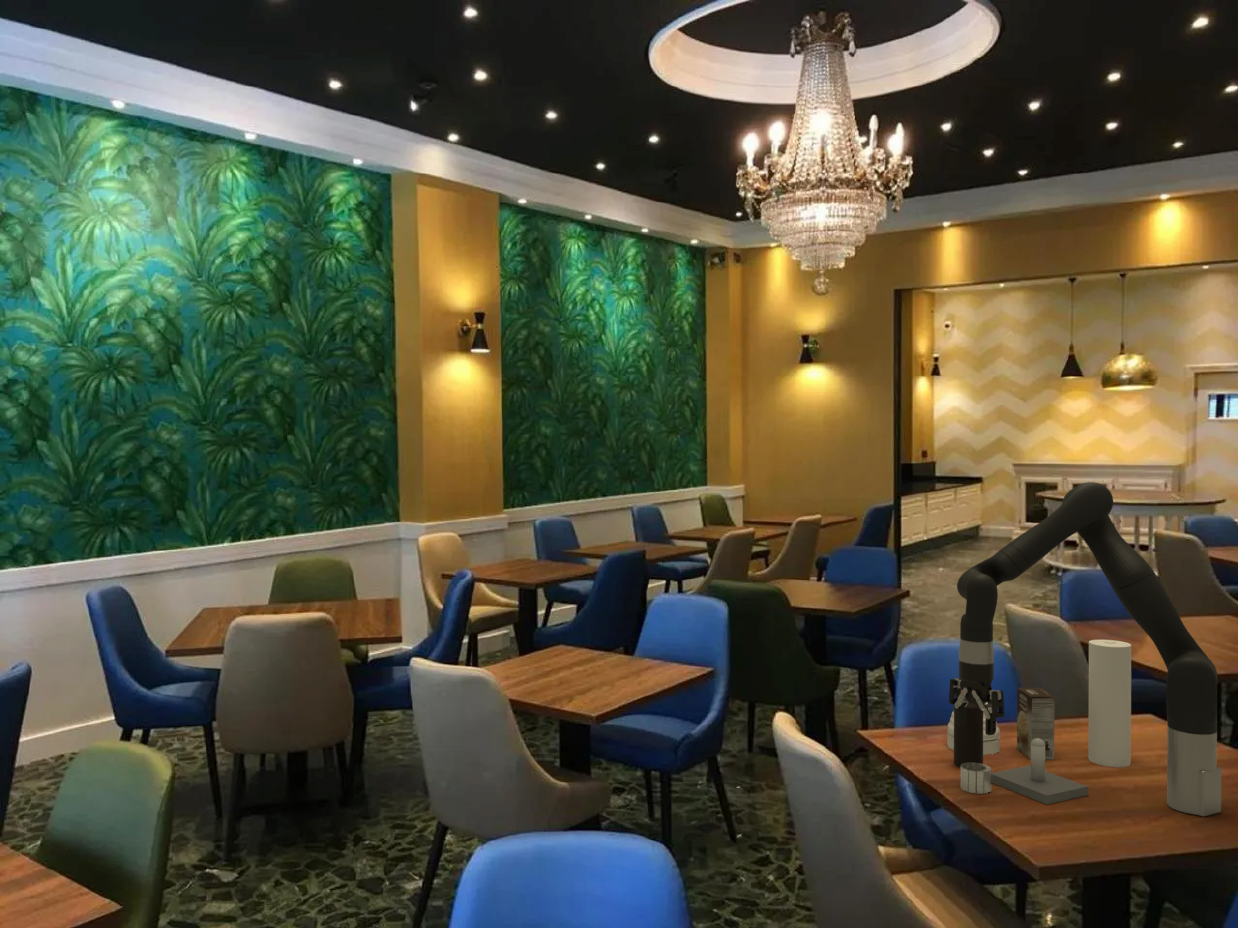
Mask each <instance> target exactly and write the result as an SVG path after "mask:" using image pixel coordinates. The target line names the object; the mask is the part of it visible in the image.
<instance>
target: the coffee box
mask: <svg viewBox="0 0 1238 928" xmlns="http://www.w3.org/2000/svg"><path fill="white" fill-rule="evenodd" d="M1016 689H1017V691H1016V699H1017V701H1016V704H1017V705H1016V749H1017V750H1019V752H1021V753H1022V754H1023V755H1025V756H1026V757H1027V758H1028V759H1029V760H1031V742H1032V740H1033V739H1035V738H1039V739H1042V740H1043V741H1044V743H1045V760H1054V759H1055V709H1056V707H1055V704H1056V703H1055V702H1056V701H1055V699H1056V696H1054V695H1053V694H1051V693H1050V692H1048V691H1047V690H1046V689H1043V688H1042V687H1017V688H1016Z"/></svg>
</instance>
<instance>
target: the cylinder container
mask: <svg viewBox="0 0 1238 928" xmlns="http://www.w3.org/2000/svg"><path fill="white" fill-rule="evenodd" d="M1087 727H1088V736H1087V737H1088V738H1087V739H1088V743H1087V744H1088V745H1087V746H1088V752H1087V753H1088V755H1087V757H1088V760H1089V762H1092V763H1094V764H1095V765H1100V766H1103V767H1108V768H1109V767H1110V768H1127V767H1130V766H1131V762H1132V761H1131V757H1132V756H1131V755H1132V751H1131V748H1132V746H1131V745H1132V743H1131V742H1132V740H1131V739H1132V738H1131V737H1132V644H1131V643H1129V642H1125V641H1122V640H1116V639H1115V640H1113V639H1091V640H1089V641H1088V726H1087Z"/></svg>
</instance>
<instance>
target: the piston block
mask: <svg viewBox="0 0 1238 928" xmlns="http://www.w3.org/2000/svg"><path fill="white" fill-rule="evenodd" d="M992 782H993V783H992ZM991 783H992V784H994V783H995V784H994V785H997V786H999V785H1000V787H1002V786H1003V787H1002V788H1005V789H1006V790H1010V791H1012V792H1015V793H1017V794H1019V795H1022V796H1025V797H1027V796H1028V797H1027V798H1029V797H1030V798H1029V799H1033V800H1035V801H1037V802H1039V803H1043V804H1045V805H1050V804H1055V803H1060V802H1064V801H1069V800H1074V799H1078V798H1082V797H1086V796H1089V786H1088V785H1085V784H1082V783H1081V782H1077V781H1074V780H1071V779H1069V778H1066V777H1064V776H1061V775H1057V774H1054V773H1051V772H1050V771H1047V770H1046V759H1045V743H1044V741H1043V740H1042V739H1039V738H1035V739H1033V740H1032V742H1031V759H1030V764H1029V765H1024V766H1021V767H1014V768H1010V769H1005V770H1000V771H995V772H991Z"/></svg>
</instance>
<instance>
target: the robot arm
mask: <svg viewBox="0 0 1238 928" xmlns="http://www.w3.org/2000/svg"><path fill="white" fill-rule="evenodd" d="M1113 506H1114V497H1113V495H1112V492H1111V490H1109V488H1108V487H1106V486H1105V485H1103V484H1102V483H1099V482H1094V481H1092V482H1090V481H1088V482H1083V483H1079V484H1078V485H1076V486H1075V487H1073V488H1072V489H1070V490H1068V491H1067V492H1066V493H1065V495H1064V497H1063V499H1062V502H1061V505H1059V507H1058V508H1056V509H1055V510H1054V511H1053V512H1052V513H1051V514H1049V515H1048V516H1046V517H1045V518H1044V519H1042V520H1041V521H1040V522H1038V523H1037V524H1035V525H1034V526H1033V527H1031V528H1030V529H1029V528H1028V529H1027V530H1026V531H1025V532H1023V533H1021V534H1020V535H1018V536H1017V537H1016V538H1014V539H1013V540H1011V541H1010V542H1009V543H1007V544H1006V545H1005V546H1003V547H1002V548H1001V549H999V550H998V551H997V552H996V553H994V554H993V555H992V556H990V557H989V558H986V559H985V560H983V561H980V562H979V563H977V564H975V565H974V566H971V567H970V568H968V569H967V570H966V571H965V572H963V573H962V574H961V575H960V576H959V578H958V580H957V584H956V589H957V592H958V594H959V595H960V596H961V597H962V598H963V599H965V600H966V602H965V603H966V606H965V612H964V614H963V615H961V618H960V624H959V625H960V626H959V627H960V632H959V634H960V636H959V638H960V639H959V646H958V677H956V678H951V679H950V680H949V689H948V690H949V694H948V703H949V704H950V705H953V707H954V706H955V708H956V721H957V724H958V725H965V724H966V709H965V707H966V706H967V704H968V703H974V704H976V705H979V707H980V709H981V710H983V712H984V714H985V716H986V724H985V733H986V735H994V734H995V732H996V722H997V719H998V718H1004V717H1005V700H1004V699H1005V697H1004V691H1003V690H1001V689H999V690H998V689H997V690H996V689H993V688H992V683H993V681H994V678H995V672H994V671H995V669H994V668H995V666H994V665H995V664H994V663H995V661H994V660H995V648H994V640H993V639H994V624H993V623H994V619H995V615H996V609H997V606H998V605H997V604H998V595H999V591H998V586H999V585H1000V584H1002V583H1004V582H1011V581H1013V580H1015V579H1017V578H1018V577H1020V576H1021V575H1022V574H1024V573H1025V572H1027V571H1028V570H1029V569H1030V568H1032V567H1033V566H1034V565H1036V563H1038V562H1039V561H1040V560H1041V559H1043V558H1044V557H1045V556H1046V555H1048V554H1049V553H1050V552H1051V551H1052V550H1054V549H1055V548H1056V547H1057V546H1059V545H1060V544H1061V543H1063V542H1064V541H1065V540H1067V539H1068V538H1069V537H1071V536H1073V535H1074V534H1076V533H1078V535H1079V537H1081V539H1082V540H1083V541H1084V543H1085V544H1086V545H1087V546H1088V548H1089V550H1090V551H1091V553H1092V554H1093V557H1094V558H1095V560H1096V563H1097V564H1098V565H1099V568H1100V569H1101V571H1102V573H1103V574H1104V576H1105V578H1106V579H1107V581H1108V583H1109V585H1110V586H1111V588H1112V590H1113V591H1114V594H1116V596H1117V598H1118V600H1119V602H1120V603H1121V604H1122V606H1123V607H1124V609H1125V610H1126V612H1127V613H1128V615H1129V616H1130V617H1131V618H1132V619H1133V620H1134V621H1135V623H1137V625H1138V626H1139V627H1140V628H1141V629H1142V630H1143V631H1144V632H1145V634H1146V635H1148V637H1149V638H1150V640H1151V641H1152V642H1153V644H1154V645H1155V647H1156V649H1157V651H1158V653H1159V655H1160V657H1161V659H1162V661H1163V663H1164V665H1165V666H1166V667H1165V668H1166V669H1167V672H1166V717H1167V718H1166V720H1167V722H1166V723H1167V725H1166V727H1167V728H1166V730H1167V732H1166V733H1167V734H1166V735H1167V737H1166V738H1167V739H1166V741H1167V742H1166V749H1167V750H1166V766H1167V767H1166V805H1167V806H1168V807H1170V808H1171V809H1173V810H1176V811H1178V812H1182V813H1186V814H1191V815H1196V816H1201V817H1207V816H1208V817H1209V816H1211V815H1215V814H1218V813H1222V768H1221V767H1219V766H1217V765H1218V763H1217V762H1218V759H1217V758H1218V757H1217V753H1218V752H1217V751H1218V749H1217V748H1218V744H1217V743H1218V740H1217V739H1218V702H1217V701H1218V699H1217V698H1218V672H1217V669H1216V666H1215V665H1214V663H1213V661H1212V660H1211V659H1210V658H1209V657H1208V655H1207V653H1205V651H1204V650H1203V649H1202V648H1201V646H1200V645H1199V644H1198V643H1197V641H1196V640H1195V639H1194V637H1193V636H1192V635H1191V633H1190V632H1189V631H1188V629H1187V628H1186V626H1185V624H1184V623H1183V620H1182V618H1181V617H1180V615H1179V613H1178V610H1177V609H1176V606H1175V604H1174V603H1173V601H1172V599H1171V597H1170V595H1169V594H1168V592H1167V590H1166V589H1165V587H1164V585H1163V583H1162V582H1161V580H1160V578H1159V577H1158V576H1157V574H1156V573H1155V571H1154V569H1153V568H1152V566H1151V565H1150V564H1149V563H1148V562H1147V561H1146V559H1145V558H1144V557H1143V556H1141V555H1140V554H1139V553H1138V551H1136V550H1135V548H1133V547H1132V546H1131V545H1130V544H1129V543H1128V542H1127V541H1126V540H1125V539H1124V538H1123V537H1122V535H1121V534H1120V533H1119V531H1118V530H1117V527H1116V526H1115V524H1114V523H1113V521H1112V519H1111V517H1110V513H1111V512H1112V510H1113ZM961 690H962V693H961ZM986 702H987V703H988V704H985V703H986ZM988 709H989V710H990V712H991V713H990V712H989V710H988Z"/></svg>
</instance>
